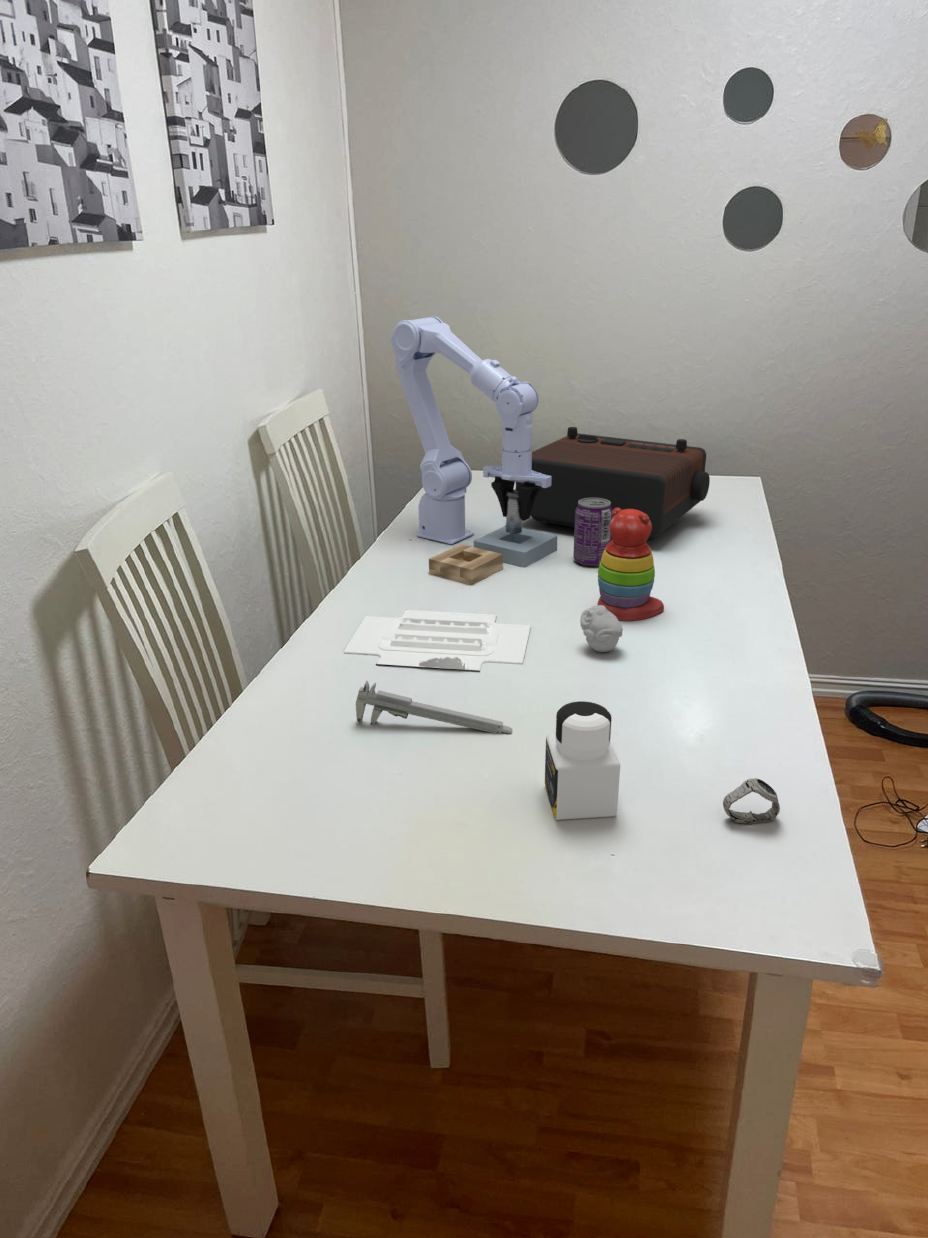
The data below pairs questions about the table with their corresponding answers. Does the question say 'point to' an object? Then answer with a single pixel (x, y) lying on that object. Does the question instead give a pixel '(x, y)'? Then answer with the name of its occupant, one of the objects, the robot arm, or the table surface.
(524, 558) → the dock
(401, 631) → the tray
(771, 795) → the wristwatch
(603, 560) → the stacking bear
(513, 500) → the pin
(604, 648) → the frog figurine
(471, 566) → the mount
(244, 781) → the table surface
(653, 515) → the radio receiver
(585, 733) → the medicine bottle
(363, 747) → the table surface
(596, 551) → the beverage can
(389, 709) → the caliper
